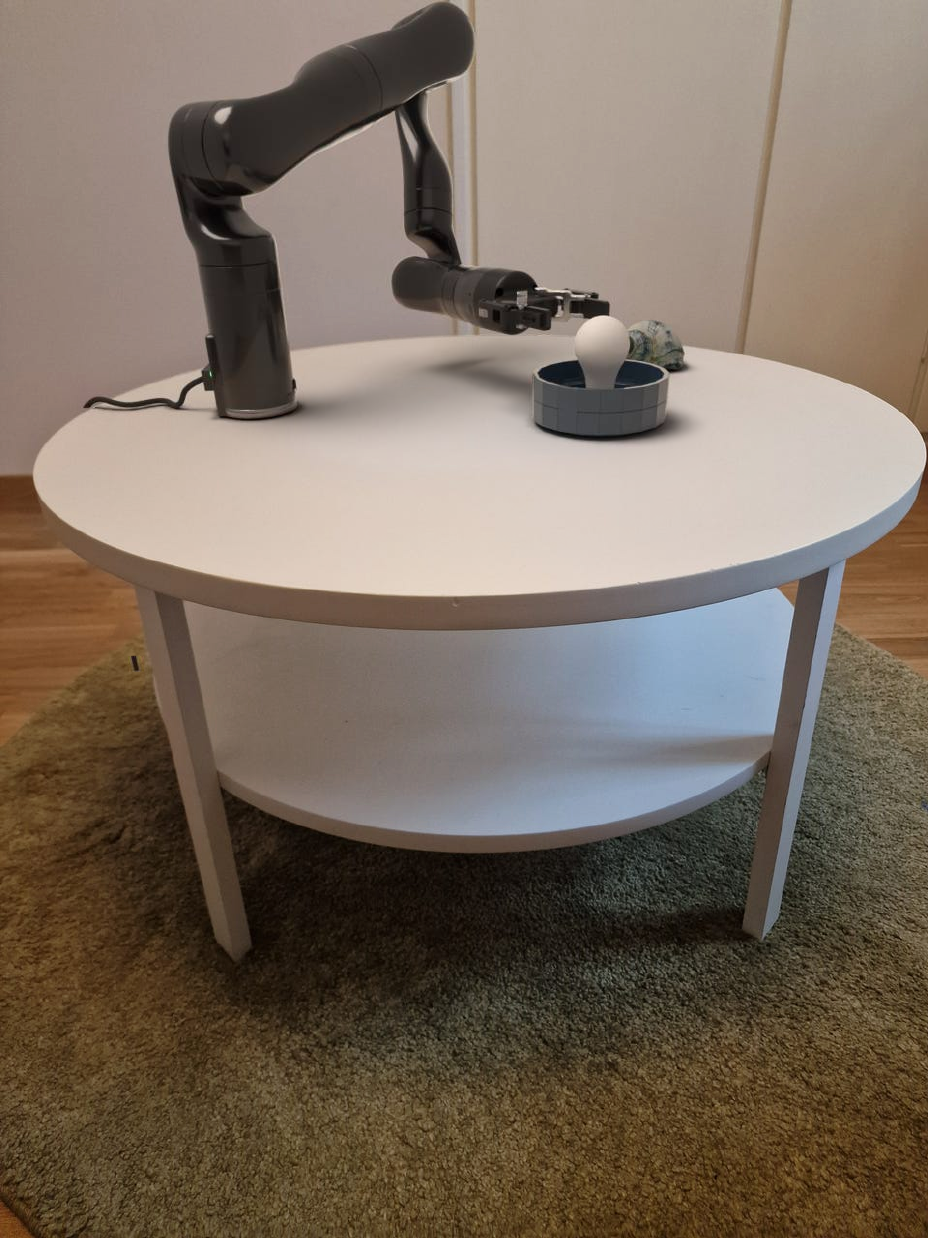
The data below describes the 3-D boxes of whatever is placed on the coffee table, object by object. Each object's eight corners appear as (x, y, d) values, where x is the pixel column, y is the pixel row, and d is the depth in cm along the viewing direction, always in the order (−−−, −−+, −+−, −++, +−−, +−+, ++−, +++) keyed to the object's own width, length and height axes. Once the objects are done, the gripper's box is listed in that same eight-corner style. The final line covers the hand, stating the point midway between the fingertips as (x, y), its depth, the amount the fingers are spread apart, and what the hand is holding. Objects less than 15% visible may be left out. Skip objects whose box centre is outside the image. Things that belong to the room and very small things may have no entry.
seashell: (691, 380, 120) (609, 385, 118) (674, 348, 125) (595, 352, 123) (704, 341, 115) (619, 346, 113) (686, 309, 120) (604, 313, 118)
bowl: (539, 443, 92) (540, 392, 89) (526, 405, 105) (526, 360, 103) (679, 438, 92) (684, 387, 90) (648, 401, 105) (652, 355, 103)
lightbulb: (568, 421, 97) (572, 320, 91) (575, 407, 102) (578, 310, 96) (623, 423, 95) (629, 321, 90) (627, 409, 100) (633, 311, 95)
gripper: (447, 273, 103) (529, 287, 91) (540, 262, 110) (628, 274, 98) (449, 337, 106) (528, 359, 95) (539, 323, 113) (623, 341, 101)
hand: (578, 316), depth 96 cm, fingers open, 8 cm apart
